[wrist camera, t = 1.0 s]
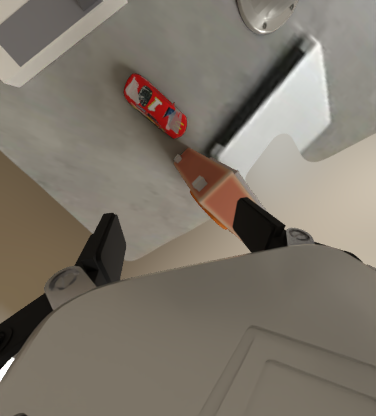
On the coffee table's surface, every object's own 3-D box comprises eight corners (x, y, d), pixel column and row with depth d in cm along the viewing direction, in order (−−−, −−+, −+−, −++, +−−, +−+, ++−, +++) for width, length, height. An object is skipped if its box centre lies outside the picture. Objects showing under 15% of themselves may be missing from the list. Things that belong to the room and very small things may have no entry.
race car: (190, 122, 32) (195, 122, 29) (176, 143, 34) (179, 145, 30) (135, 68, 26) (134, 60, 22) (121, 97, 27) (117, 93, 24)
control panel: (204, 197, 42) (167, 161, 35) (222, 180, 41) (187, 139, 33) (246, 250, 24) (187, 200, 17) (280, 224, 23) (232, 156, 15)
